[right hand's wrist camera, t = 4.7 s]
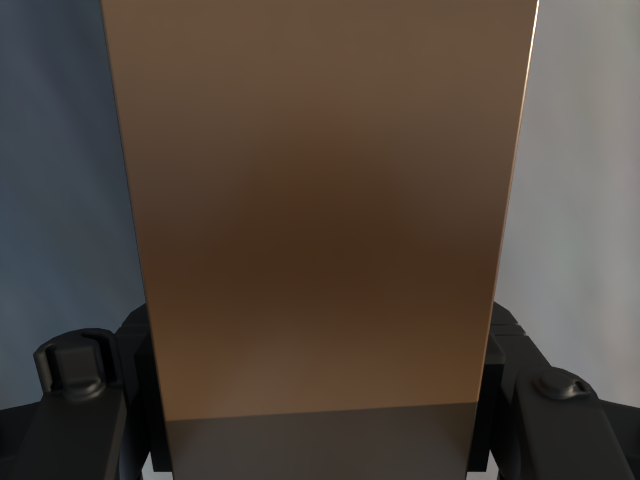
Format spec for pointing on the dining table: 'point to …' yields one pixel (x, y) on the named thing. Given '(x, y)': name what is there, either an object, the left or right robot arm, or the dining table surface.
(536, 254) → the dining table surface
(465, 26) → the beam
